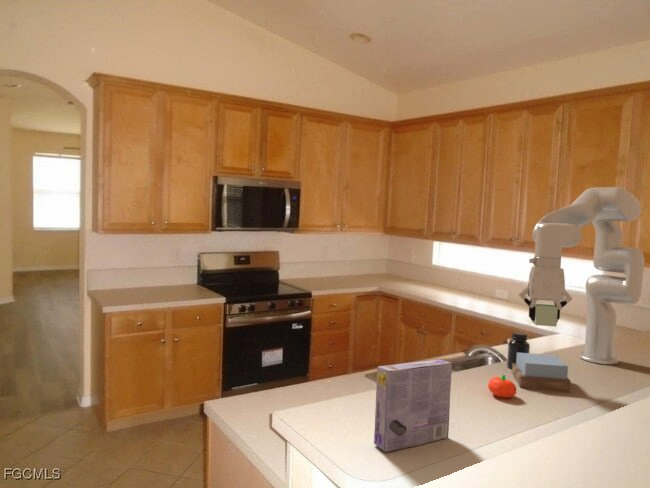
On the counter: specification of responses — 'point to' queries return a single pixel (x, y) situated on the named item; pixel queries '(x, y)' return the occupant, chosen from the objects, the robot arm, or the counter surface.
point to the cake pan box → (412, 404)
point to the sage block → (545, 314)
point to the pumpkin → (502, 387)
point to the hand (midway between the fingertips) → (543, 320)
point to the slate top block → (541, 365)
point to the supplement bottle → (517, 347)
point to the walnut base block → (540, 381)
